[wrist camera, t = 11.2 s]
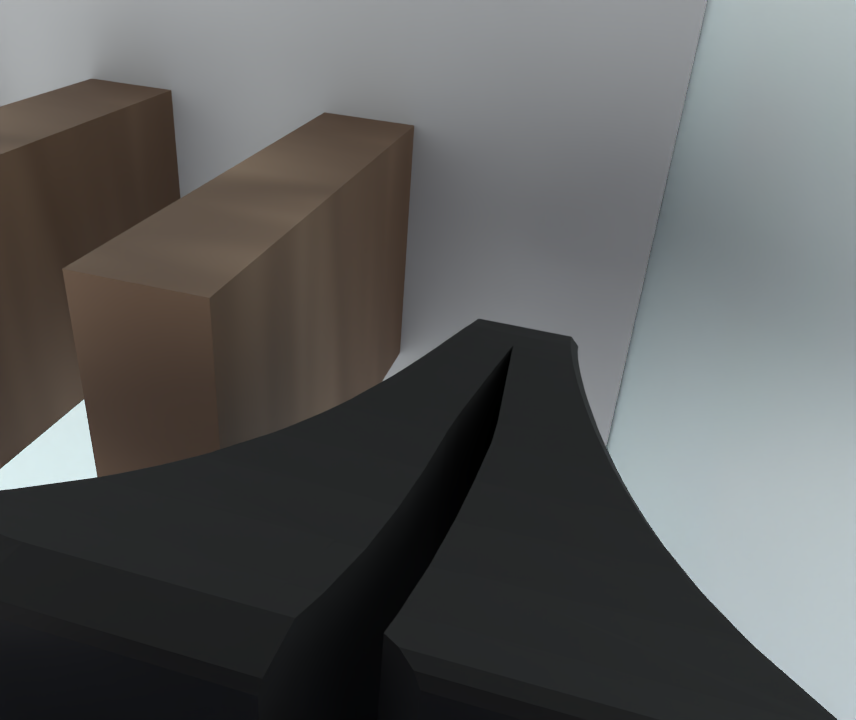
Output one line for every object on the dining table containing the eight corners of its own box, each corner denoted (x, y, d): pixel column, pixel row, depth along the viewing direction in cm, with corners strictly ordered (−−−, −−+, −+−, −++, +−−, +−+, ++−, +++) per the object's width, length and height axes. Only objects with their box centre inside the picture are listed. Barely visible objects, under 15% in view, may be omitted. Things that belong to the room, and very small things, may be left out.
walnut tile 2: (171, 90, 15) (-179, 221, 9) (190, 310, 17) (-77, 533, 11) (92, 78, 15) (-296, 197, 9) (120, 296, 17) (-177, 506, 11)
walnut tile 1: (414, 124, 14) (209, 297, 8) (399, 353, 16) (232, 620, 10) (324, 112, 14) (62, 269, 8) (322, 337, 16) (115, 588, 10)
